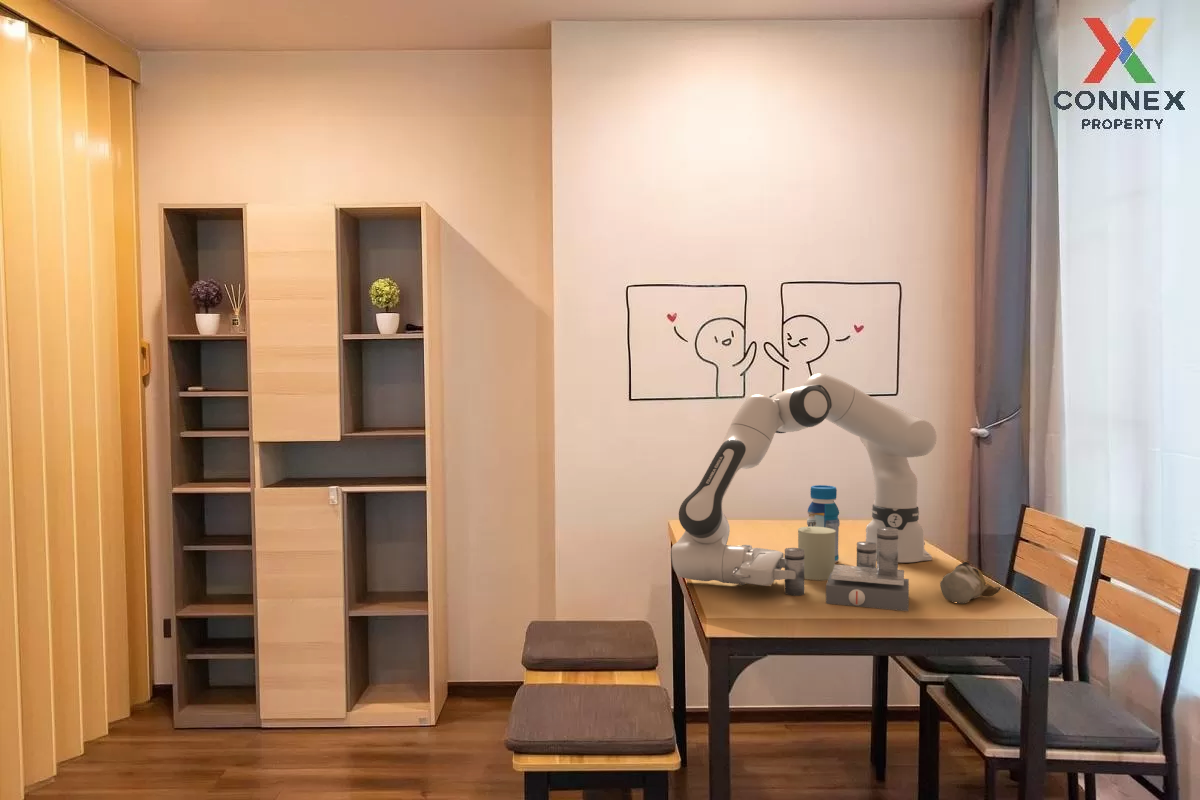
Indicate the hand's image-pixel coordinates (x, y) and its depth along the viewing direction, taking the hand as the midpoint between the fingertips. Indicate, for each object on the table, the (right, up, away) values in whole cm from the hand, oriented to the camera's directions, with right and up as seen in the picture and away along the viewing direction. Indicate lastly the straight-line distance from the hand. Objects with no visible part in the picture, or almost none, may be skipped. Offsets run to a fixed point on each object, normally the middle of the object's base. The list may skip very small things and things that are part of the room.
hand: (798, 569), depth 189 cm
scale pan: (+14, 0, -5) cm, 15 cm away
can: (+8, -5, +16) cm, 19 cm away
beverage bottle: (+14, -4, +32) cm, 35 cm away
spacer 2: (+18, -5, +7) cm, 20 cm away
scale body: (+14, -6, -5) cm, 16 cm away
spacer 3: (+18, +1, -7) cm, 19 cm away
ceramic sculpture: (+37, -6, -4) cm, 37 cm away
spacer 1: (-1, -5, 0) cm, 5 cm away
